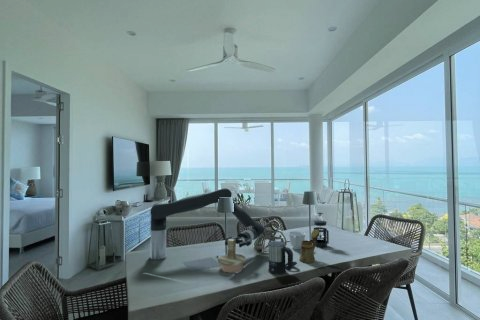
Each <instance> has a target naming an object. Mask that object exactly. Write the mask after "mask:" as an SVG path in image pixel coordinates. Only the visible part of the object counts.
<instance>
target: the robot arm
mask: <svg viewBox="0 0 480 320" xmlns="http://www.w3.org/2000/svg"><path fill="white" fill-rule="evenodd" d="M219 197H231V198H232V197H233V194H232V190H230V189H229V188H227V187H226V188H225V187H223V188H220V189H217V190H214V191H211V192H205V193H198V194H194V195H190V196H189V195H188V196H186V197H182V198H180V199H178V200H175V201H172V202H169V203H162V202H156V203H154V204H153V205H152V206H151V207H150V208H151V209H150V241H149V258H150V260H152V261H153V260H155V261H156V260H158V261H159V260H162V259H165V258H167V218H168V217H169V216H172V215H175V214H176V215H177V214H181V213H186V212H192V211H196V210H200V209H202V208H205V207H207V206H209V205H213V204H217V203H219V202H218V199H220V198H219ZM233 203H234V212H231V213H232V214H233V216H235V218H236V219H237V220H238V221H239V222H240V223H241V225H243V227H245V228H248V229H246V230H243V231H241V232H239V233H238V234H237V235H236V236H235V237H233V236H229V237H226V238H225V241H224V245H225V246H228V240H229V239H236V245H238V247H239V248H242V247H249V246H250V245H252V243H253V242H252V241H255V240H257V239H258V238H260V236H261V235H262V234H264V233H265V228H264V226H263V225H262V224H261V223H259V222H258V221H256V220H255V219H253V218H252V217H251V216H250V215H249V214H248V213H247V212H246V211H245V209H243V208H241V207H240V206H239V205H238V204H237V203H236V202H235V201H234V200H233ZM249 227H251V228H249Z"/></svg>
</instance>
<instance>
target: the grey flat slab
mask: <svg viewBox="0 0 480 320" xmlns="http://www.w3.org/2000/svg"><path fill="white" fill-rule="evenodd" d="M182 264H183V265H184V266H185V267H186V268H187V269H188V271H189V272H190V273H191V272H198V271H201V270H202V271H203V270H207V269H213V268H219V267H221V264H220V263H219V262H218V260H215V258H213V257H211V256H210V257H206V258H199V259H195V260H188V261H182Z"/></svg>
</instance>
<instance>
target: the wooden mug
mask: <svg viewBox="0 0 480 320" xmlns="http://www.w3.org/2000/svg"><path fill="white" fill-rule="evenodd" d="M319 230H320V229H315V230H314V229H313V230H312V232H311V234H310V239H308V240H307V239H306V240H303V241H302V243H301V249H300V256H299V261H300V262H301V263H305V264H312V263H315V262H316V258H315V253H314V251H315V248H316V247H315V245H316V242H315V239H316V238H317V237H318V236H319V235H320V231H319Z"/></svg>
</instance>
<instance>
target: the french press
mask: <svg viewBox="0 0 480 320" xmlns="http://www.w3.org/2000/svg"><path fill="white" fill-rule="evenodd" d="M316 214H317V215H319V217H321V216H322V215H323V214H324V213H323V212H317V213H316ZM327 223H328V221H326V220H321V219H319V220H314V221H313V225H314V226H316V227H313V230H315V229H319V231H320V233H319V236H318V237H317V238H316V239H315V242H316V245H315V248H319V249H323V248H325V249H326V248H328V244H330V241H329V239H330V238H329V237H330V235H329V230H328V229H327V228H325V226H327ZM321 233H323V235H321Z"/></svg>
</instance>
